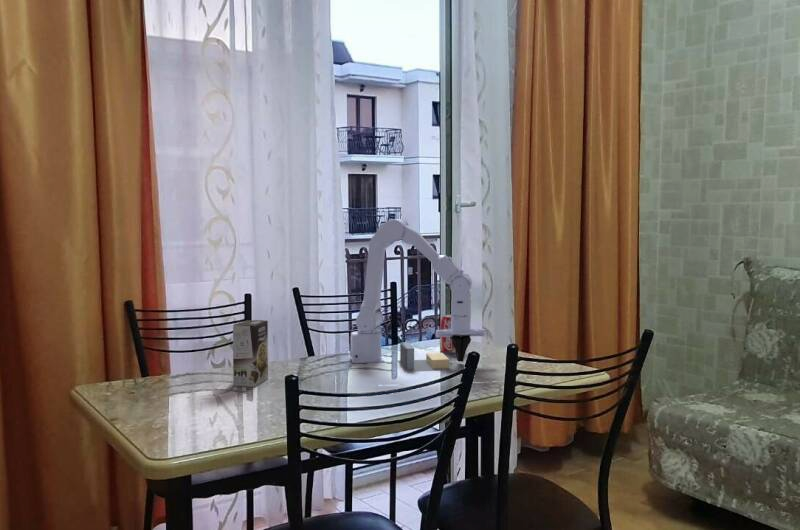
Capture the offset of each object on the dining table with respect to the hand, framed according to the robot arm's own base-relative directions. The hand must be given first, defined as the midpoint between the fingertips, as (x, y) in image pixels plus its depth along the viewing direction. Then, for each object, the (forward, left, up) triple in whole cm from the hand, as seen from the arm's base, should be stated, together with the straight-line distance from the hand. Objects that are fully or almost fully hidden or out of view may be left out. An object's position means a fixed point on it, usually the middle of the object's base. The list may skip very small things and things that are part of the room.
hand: (460, 360), depth 205 cm
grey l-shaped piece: (-11, 0, -1) cm, 11 cm away
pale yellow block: (-7, 0, -1) cm, 7 cm away
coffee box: (-60, -12, -2) cm, 61 cm away
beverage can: (+1, +18, -2) cm, 18 cm away
